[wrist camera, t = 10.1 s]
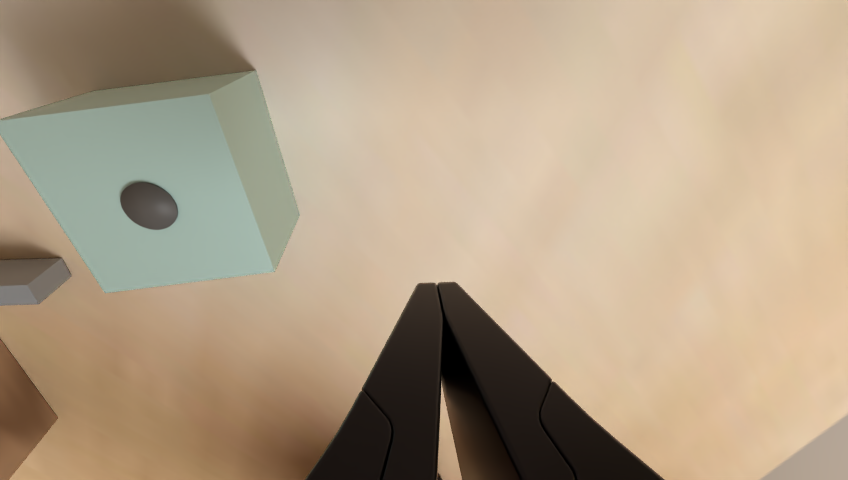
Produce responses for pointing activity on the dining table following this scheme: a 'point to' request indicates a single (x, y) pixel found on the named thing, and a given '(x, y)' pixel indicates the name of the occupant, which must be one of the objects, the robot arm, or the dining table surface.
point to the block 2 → (162, 179)
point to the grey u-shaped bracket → (30, 280)
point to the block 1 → (19, 415)
